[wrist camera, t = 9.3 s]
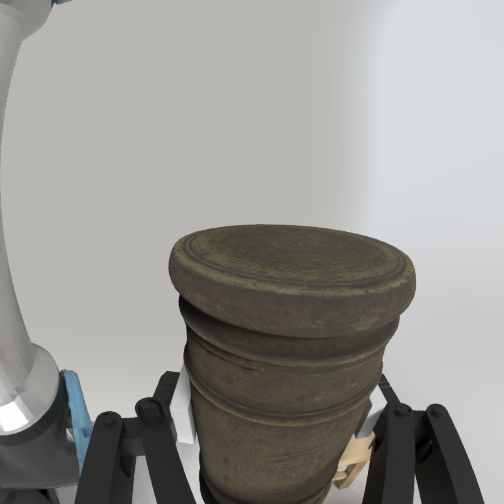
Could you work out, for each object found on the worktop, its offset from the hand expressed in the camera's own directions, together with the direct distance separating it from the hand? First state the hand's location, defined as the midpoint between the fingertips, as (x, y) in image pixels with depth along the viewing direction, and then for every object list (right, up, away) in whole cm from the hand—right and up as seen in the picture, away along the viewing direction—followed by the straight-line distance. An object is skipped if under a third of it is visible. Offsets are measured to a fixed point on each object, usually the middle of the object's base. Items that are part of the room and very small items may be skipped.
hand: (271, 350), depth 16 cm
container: (0, -11, -2) cm, 11 cm away
